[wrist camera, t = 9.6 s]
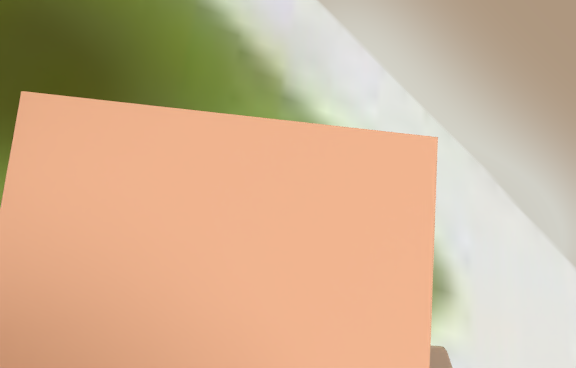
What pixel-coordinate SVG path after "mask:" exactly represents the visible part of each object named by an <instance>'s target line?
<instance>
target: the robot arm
mask: <svg viewBox="0 0 576 368" xmlns="http://www.w3.org/2000/svg"><path fill="white" fill-rule="evenodd" d="M430 368H452V365H451V362H450V359H449V356H448V353H447V351H446V350H445V348H444V347H441V346H430Z"/></svg>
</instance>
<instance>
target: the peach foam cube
mask: <svg viewBox="0 0 576 368" xmlns="http://www.w3.org/2000/svg"><path fill="white" fill-rule="evenodd" d="M437 143H438V137H430V136H421V135H412V134H403V133H394V132H385V131H376V130H367V129H358V128H349V127H340V126H331V125H322V124H313V123H304V122H295V121H286V120H277V119H268V118H259V117H250V116H241V115H232V114H223V113H214V112H205V111H196V110H187V109H178V108H169V107H160V106H151V105H142V104H133V103H124V102H115V101H106V100H97V99H88V98H79V97H70V96H61V95H52V94H43V93H34V92H25V91H21V96H20V102H19V108H18V113H17V119H16V124H15V130H14V135H13V141H12V147H11V152H10V158H9V163H8V169H7V175H6V180H5V186H4V191H3V197H2V202H1V208H0V368H430V341H431V313H432V285H433V256H434V228H435V200H436V171H437Z"/></svg>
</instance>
